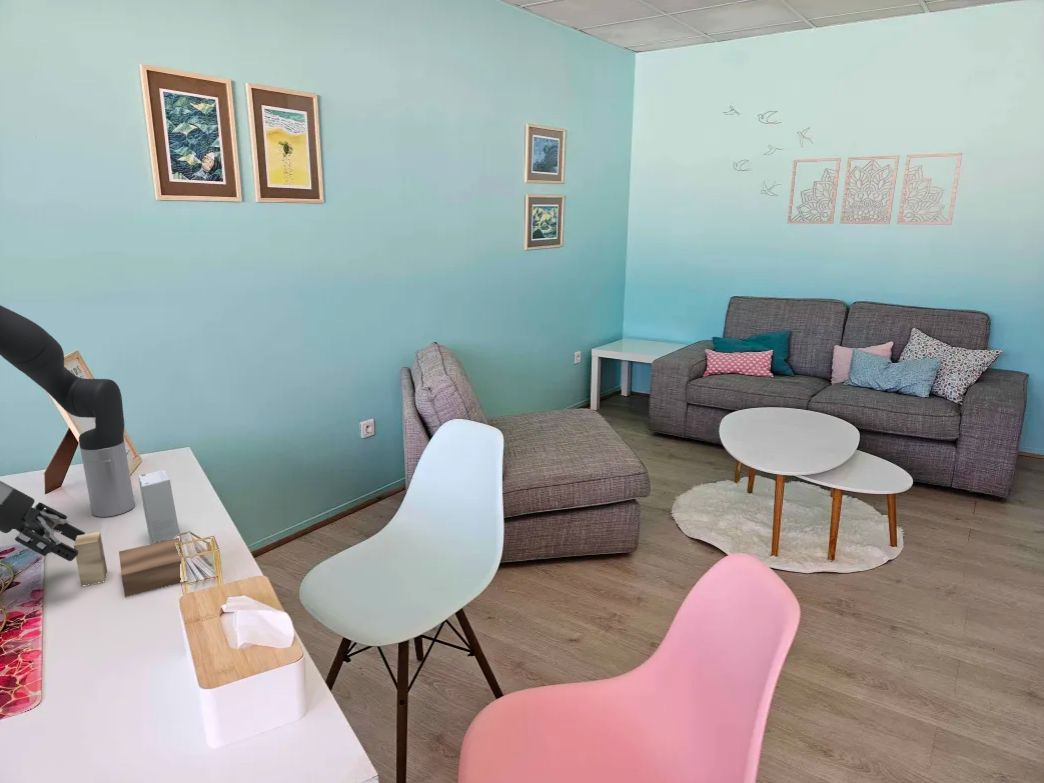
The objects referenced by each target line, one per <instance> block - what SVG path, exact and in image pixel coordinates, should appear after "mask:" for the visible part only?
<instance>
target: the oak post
mask: <svg viewBox="0 0 1044 783" xmlns="http://www.w3.org/2000/svg"><path fill="white" fill-rule="evenodd" d="M73 548H74V549H76V550H77V551H78V555H77V556H76V557H75V560H76V565H77V570H78V575H79V576H78V577H79V579H80V580H79V583H80V587H81V586H83V585H88V584H93V585H95V584H94V583H98V582H103V581H105V582H106V579H107V575H108V567H107V566H108V565H107V561H106V557H105V551H104V550H105V549H104V544H103V540H102V535H101V531H97V532H96V531H95V532H90V533H85V534H84V535H78V536H77V538H76V540H75V541H74V543H73ZM106 574H107V575H106ZM105 578H106V579H105ZM88 586H89V585H88ZM83 587H84V586H83Z"/></svg>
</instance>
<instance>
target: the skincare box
mask: <svg viewBox="0 0 1044 783" xmlns="http://www.w3.org/2000/svg"><path fill="white" fill-rule="evenodd" d="M138 482H139V488H140V493H141V494H140V496H141V500H142V507H143V513H144V517H145V523H146V528H147V533H148V536H149V539H150V542H151V544H154V543H159V542H163V541H167V540H172V539H173V538H174V536H175V535H178V534H180V528H179V522H178V517H177V512H176V506H175V500H174V495H173V490H172V485H171V478H170V476H169V473H168V472H167V470H166V469H162V470H157V471H153V472H148V473H144V474H140V475H138ZM180 535H181V534H180Z"/></svg>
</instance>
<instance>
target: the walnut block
mask: <svg viewBox="0 0 1044 783" xmlns="http://www.w3.org/2000/svg"><path fill="white" fill-rule="evenodd" d="M175 542H176V543H178V544H180V545H179V549H180V553H181V555H182V557H184V558H185V556H184V554H183V553H184V552H183V550H182V549H183V548H182V545H181V543H180V542H181V541H179V538H176V539H172V540H167V541H163V542H159V543H154V544H152V543H151V544H150V543H149V544H145V545H142V546H137V547H134V548H129V549H125V550H120V551H118V555H119V556H118V557H119V565H120V566H119V567H120V574H121V580H122V586H123V591H124V597H125V598H127V597H131V595H132V596H134V594H135V595H139V594H142V592H143V593H146V592H151V591H154V590H158V588H159V589H162V588H161V587H163V588H166V587H165V586H167V587H170V586H169V585H171V586H173V585H179V584H181V583H180V580H181V578H180V564H181V558H180V556H179V554H178V551H177V549H176V546H175Z"/></svg>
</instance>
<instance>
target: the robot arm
mask: <svg viewBox="0 0 1044 783" xmlns="http://www.w3.org/2000/svg"><path fill="white" fill-rule="evenodd" d="M63 350H64V349H63V348H62V345H61V344H60V343H59V342H58V341H57V340H56V339H55V338H54V337H53V336H52V335H51V334H50V333H49V332H47V330H45V329H44V328H43V327H41V326H40V325H39V324H37V323H36V322H34V321H33V320H31V319H29V318H27V317H25V316H23V315H21V314H19V313H17V312H15V311H13V310H11V309H9V308H8V307H5V306H3V305H2V304H1V305H0V356H1V357H2V358H3V359H4V360H6V361H7V362H8V363H9V364H11V365H12V366H13V367H14V368H16V369H17V370H19V371H20V372H22V373H23V374H25V376H26V377H28V378H29V379H31V381H33V382H34V383H35V384H37V385H38V386H39V387H40V388H42V389H43V390H45V392H46V393H48V394H49V395H50V396H51V398H52V399H53V400H55V401H56V402H57V404H58V405H59V406H60V407H62V409H63V410H64V411H65V412H66V413H68V414H69V415H71V416H74V417H77V418H86V419H87V418H91V419H92V418H94V421H95V422H94V423H95V427H94V428H91V429H89V430H86V431H84V432H82V433H81V434H80V435H79V436H78V444H79V449H80V455H81V460H82V465H83V470H84V476H85V481H86V482H85V483H86V488H87V491H88V492H87V494H88V498H89V499H88V500H89V505H90V510H91V515H93V516H95V517H99V518H101V517H102V518H103V517H104V518H107V517H114V516H118V515H122V514H124V513H128V512H129V511H132V509H134V508H135V506H136V503H135V499H134V497H135V496H134V492H133V486H132V479H131V474H130V468H129V461H128V455H127V449H126V443H125V436H124V435H125V434H124V432H125V418H124V408H123V406H124V405H123V397H122V392H121V389H120V387H119V385H118V384H117V382H116V381H114V380H113V379H109V378H83V377H79V376H77V375H75V374H74V373H72V372H71V371H70V370H69V369H67V367H65V354H64V353H65V352H64V351H63ZM34 504H35V499H34V498H33V497H31V496H29V495H28V494H26V493H24V492H22V491H20V490H18V489H17V488H14V487H13V486H11V485H10V484H7V483H6V482H4V481H2V480H0V532H1V533H3V534H8V533H10V532H12V530H16V531H17V532H19V533H18V534H17V536H16V537H15V538H14V540H15V541H16V542H17V543H19V544H20V545H23V546H24V547H26V548H28V549H29V550H31V551H34V552H35V553H37V554H39V555H41V556H42V557H46V556H48V554H52V553H53V554H54V555H57V556H58V557H60V558H62V559H64V560H66V561H68V562H72V561H73V560H74V559H76V556H77V555H78V551H77V550H76V549H74V547H72V546H70V545H68V544H66V543H64V542H62V541H60V540H59V539H58V538H57V537H56V536H55V533H60V535H63V537H65V538H67V539H69V540H71V541H74V542H75V540H76V538H77V536H78V535H84V534H86V533H85V532H84V531H83V530H82V529H79V528H77V527H75V526H73V525H72V524H71V523H70V521H68V520H67V519H68V516H67V515H65V514H64V513H62V512H60V511H58V510H57V509H55V508H52V507H50V506H49V505H47V504H44V503H43V502H37V504H36V505H35V506H34V507H33V505H34Z"/></svg>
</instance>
